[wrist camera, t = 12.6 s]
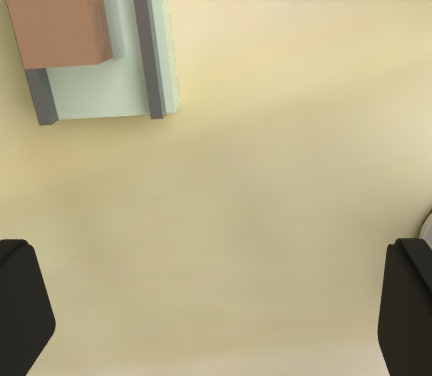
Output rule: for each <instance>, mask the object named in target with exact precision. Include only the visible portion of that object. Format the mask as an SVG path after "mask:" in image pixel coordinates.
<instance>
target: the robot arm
mask: <svg viewBox="0 0 432 376" xmlns="http://www.w3.org/2000/svg"><path fill="white" fill-rule="evenodd" d="M55 326H56V322H55V318H54V314H53V311H52V308H51V304H50V301H49V297H48V294H47V291H46V287H45V284H44V281H43V277H42V274H41V271H40V267H39V264H38V261H37V257H36V254H35V250H34V248H33V247H32V245H29V244H28V242H27V241H26V240H23V239H5V240H1V241H0V376H26V374H27V373H28V371H29V370H30V368H31V367H32V365H33V364H34V362H35V361H36V359H37V358H38V356H39V355H40V353H41V352H42V350H43V349H44V347H45V346H46V344H47V343H48V341H49V340H50V338H51V337H52V335H53V333H54V331H55ZM378 341H379V345H380V348H381V351H382V354H383V357H384V360H385V363H386V366H387V368H388V371H389V374H390V376H432V213H431V214H430V215H429V216H428V218H427V219H426V221H425V223H424V225H423V227H422V228H421V231H420V235H419V238H398V239H397V240H396V242H395V244H389V245H388V247H387V253H386V262H385V270H384V279H383V288H382V296H381V305H380V313H379V322H378Z"/></svg>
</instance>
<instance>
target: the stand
mask: <svg viewBox="0 0 432 376" xmlns="http://www.w3.org/2000/svg"><path fill="white" fill-rule="evenodd" d="M117 2H118V8H119V14H120V21H121V27H122V33H123V39H124V46H125V52H126V56H124V57H121V58H119V59H117V60H115V61H105V62H103V63H100V64H98V65H82V66H67V67H51V68H35V69H24V70H25V73H26V77H27V81H28V84H29V88H30V92H31V95H32V99H33V103H34V106H35V110H36V114H37V117H38V121H39V125H51V124H53V123H55V122H56V121H58V120H64V119H82V118H99V117H117V116H134V115H150V116H151V119H161V118H164V116H165V115H166V114H169V113H176V111H177V109H178V108H179V106H180V96H179V87H178V79H177V70H176V61H175V52H174V44H173V35H172V26H171V17H170V8H169V0H117ZM6 3H7V1H6ZM7 7H8V5H7ZM8 11H9V9H8ZM9 14H10V13H9ZM10 18H11V16H10ZM11 22H12V20H11ZM12 25H13V24H12ZM13 29H14V28H13ZM14 33H15V31H14ZM15 37H16V35H15ZM16 40H17V39H16ZM17 44H18V43H17ZM18 48H19V46H18ZM19 51H20V50H19ZM20 55H21V54H20ZM21 59H22V58H21ZM22 62H23V61H22ZM23 66H24V65H23Z"/></svg>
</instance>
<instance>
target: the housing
mask: <svg viewBox="0 0 432 376" xmlns="http://www.w3.org/2000/svg"><path fill="white" fill-rule="evenodd" d="M6 1H7V5H8V9H9V13H10V16H11V20H12V24H13V28H14V31H15V35H16V39H17V43H18V46H19V50H20V54H21V58H22V61H23V65H24V69H35V68H51V67H67V66H82V65H98V64H100V63H103V62H105V61H115V60H117V59H119V58H121V57H124V56H126V52H125V46H124V39H123V33H122V27H121V21H120V14H119V8H118V2H117V0H6Z"/></svg>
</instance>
